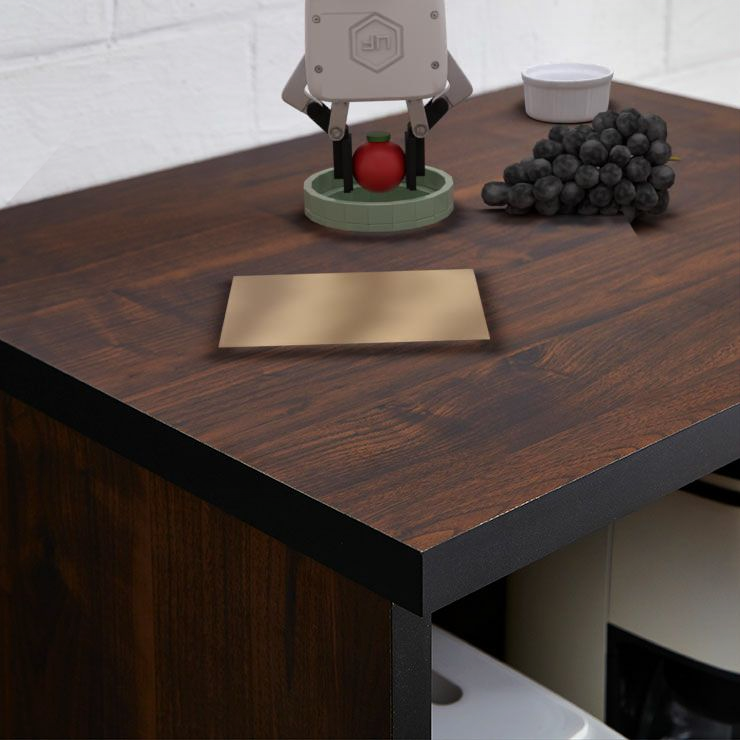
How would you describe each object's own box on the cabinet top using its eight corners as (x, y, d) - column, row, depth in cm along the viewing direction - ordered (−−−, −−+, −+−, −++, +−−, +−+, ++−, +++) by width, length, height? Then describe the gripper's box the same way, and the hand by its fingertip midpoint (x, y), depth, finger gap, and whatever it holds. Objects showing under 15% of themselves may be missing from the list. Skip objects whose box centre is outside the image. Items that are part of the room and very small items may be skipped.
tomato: (352, 201, 102) (350, 142, 101) (352, 185, 106) (350, 127, 104) (408, 199, 102) (407, 140, 101) (406, 183, 106) (405, 125, 104)
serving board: (219, 370, 82) (217, 346, 81) (234, 296, 93) (233, 275, 92) (490, 361, 82) (490, 338, 81) (473, 289, 93) (473, 268, 92)
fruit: (486, 116, 98) (689, 98, 100) (464, 126, 107) (652, 109, 108) (496, 238, 99) (697, 218, 101) (473, 238, 108) (660, 220, 109)
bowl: (303, 253, 100) (301, 206, 99) (307, 206, 111) (305, 163, 109) (458, 248, 100) (458, 202, 99) (447, 202, 111) (447, 159, 109)
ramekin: (523, 126, 132) (524, 81, 130) (517, 104, 140) (518, 61, 138) (617, 124, 131) (619, 79, 130) (606, 102, 139) (608, 59, 138)
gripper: (249, -55, 93) (265, 205, 101) (497, -64, 93) (495, 198, 101) (255, -69, 100) (271, 176, 108) (487, -77, 100) (486, 169, 108)
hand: (379, 184), depth 104 cm, fingers closed on tomato, 4 cm apart
